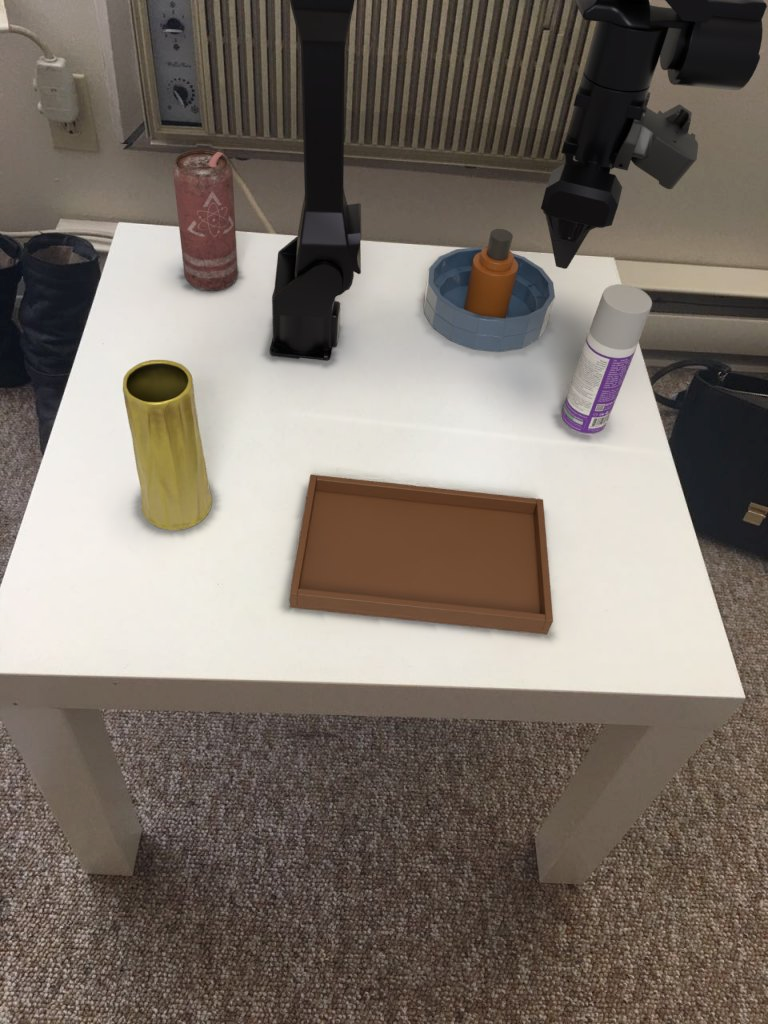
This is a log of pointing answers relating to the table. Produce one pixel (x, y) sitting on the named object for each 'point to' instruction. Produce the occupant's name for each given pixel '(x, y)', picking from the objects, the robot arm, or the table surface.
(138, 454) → the vase
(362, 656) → the table surface
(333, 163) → the robot arm
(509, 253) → the bottle
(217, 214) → the can
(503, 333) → the bowl
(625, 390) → the table surface
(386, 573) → the tray
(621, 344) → the container
